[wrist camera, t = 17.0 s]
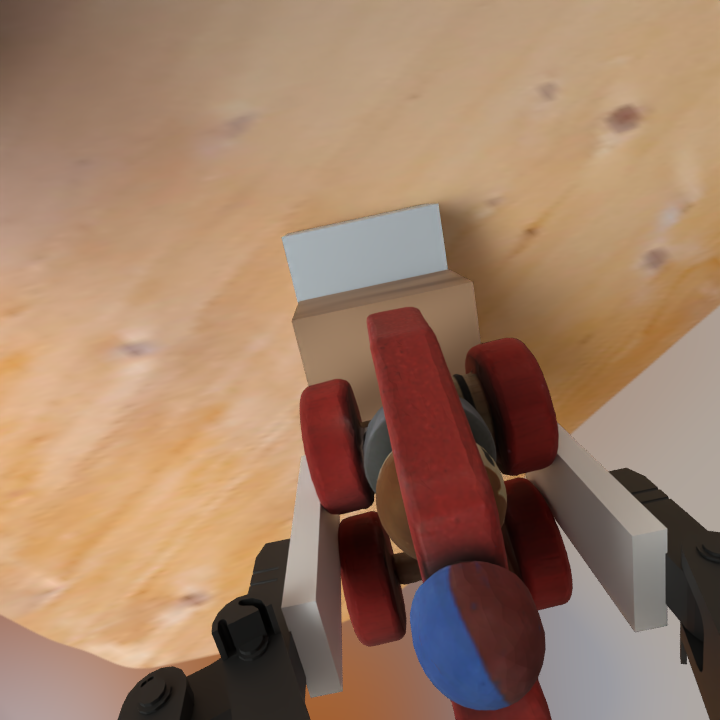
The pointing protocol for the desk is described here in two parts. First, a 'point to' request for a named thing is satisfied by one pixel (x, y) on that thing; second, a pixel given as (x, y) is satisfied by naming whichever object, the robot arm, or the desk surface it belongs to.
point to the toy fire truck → (446, 511)
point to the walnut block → (350, 334)
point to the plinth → (366, 251)
